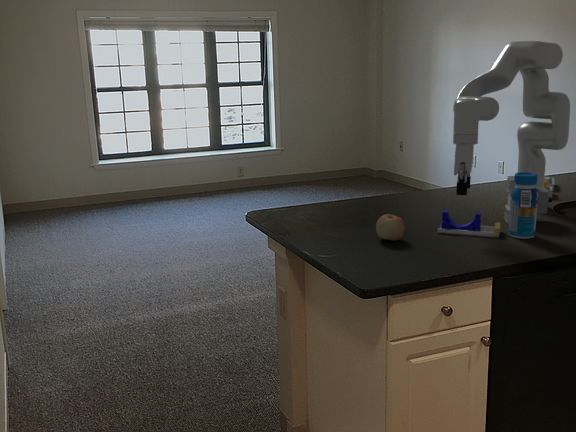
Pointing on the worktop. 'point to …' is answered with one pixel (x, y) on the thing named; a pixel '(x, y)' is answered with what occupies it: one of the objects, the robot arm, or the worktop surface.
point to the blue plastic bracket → (453, 225)
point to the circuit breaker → (541, 199)
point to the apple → (390, 227)
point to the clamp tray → (548, 188)
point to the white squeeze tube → (484, 231)
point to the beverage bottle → (523, 206)
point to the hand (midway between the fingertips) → (463, 191)
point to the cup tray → (551, 183)
